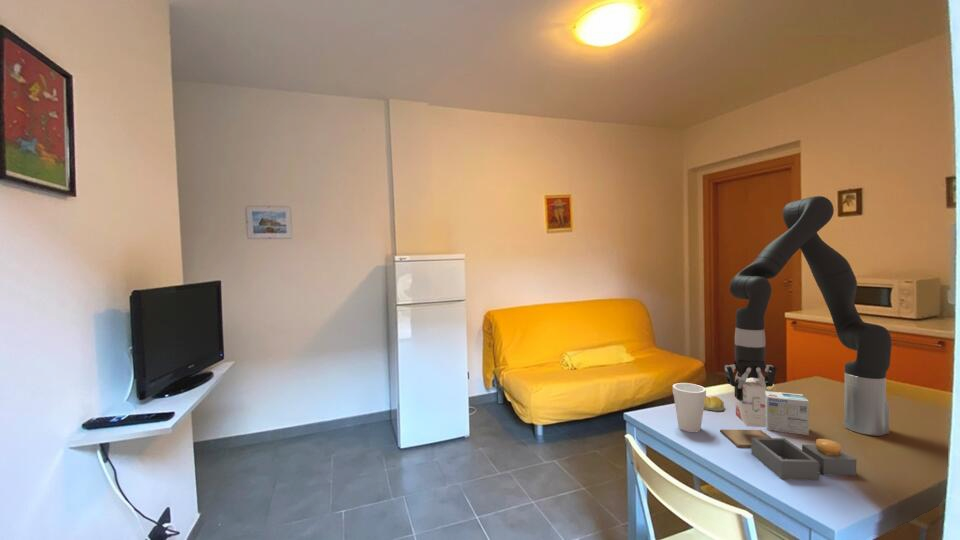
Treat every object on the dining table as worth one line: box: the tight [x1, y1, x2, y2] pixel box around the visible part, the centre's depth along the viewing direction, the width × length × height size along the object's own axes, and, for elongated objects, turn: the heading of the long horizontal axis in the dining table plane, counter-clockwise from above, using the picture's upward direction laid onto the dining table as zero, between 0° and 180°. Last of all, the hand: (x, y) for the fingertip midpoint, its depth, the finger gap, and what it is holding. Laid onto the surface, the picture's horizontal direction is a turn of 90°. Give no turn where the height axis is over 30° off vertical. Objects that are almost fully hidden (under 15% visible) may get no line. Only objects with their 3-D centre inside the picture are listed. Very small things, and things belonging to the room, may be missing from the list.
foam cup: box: [672, 382, 707, 433], centre depth 129 cm, size 10×9×13 cm
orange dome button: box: [815, 438, 842, 455], centre depth 104 cm, size 5×5×6 cm
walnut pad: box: [719, 429, 772, 449], centre depth 120 cm, size 12×10×1 cm
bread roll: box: [704, 395, 725, 412], centre depth 146 cm, size 8×9×4 cm
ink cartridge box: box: [735, 374, 766, 428], centre depth 120 cm, size 9×5×15 cm, turn 168°
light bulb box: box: [765, 391, 810, 436], centre depth 127 cm, size 11×7×11 cm, turn 65°
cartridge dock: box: [750, 437, 857, 481], centre depth 105 cm, size 19×13×4 cm, turn 85°
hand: (749, 399), depth 120 cm, fingers closed on ink cartridge box, 5 cm apart
